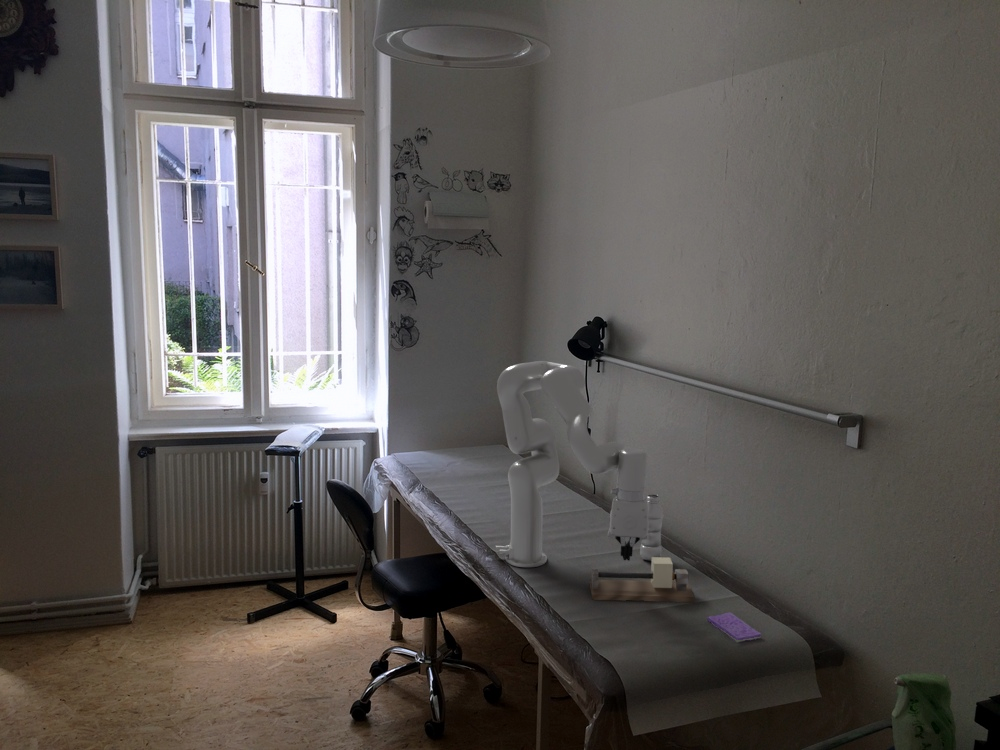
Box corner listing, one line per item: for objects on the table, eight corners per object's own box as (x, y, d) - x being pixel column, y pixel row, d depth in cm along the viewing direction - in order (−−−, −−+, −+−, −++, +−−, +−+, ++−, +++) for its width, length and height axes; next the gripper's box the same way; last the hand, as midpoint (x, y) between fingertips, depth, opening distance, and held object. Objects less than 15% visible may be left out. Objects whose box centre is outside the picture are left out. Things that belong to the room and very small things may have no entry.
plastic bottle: (635, 557, 244) (637, 494, 241) (654, 554, 247) (657, 492, 244) (646, 564, 238) (649, 500, 235) (665, 561, 241) (668, 498, 238)
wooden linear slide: (592, 599, 213) (593, 576, 212) (589, 584, 223) (590, 562, 222) (693, 602, 212) (694, 579, 211) (686, 586, 222) (687, 564, 221)
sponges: (736, 645, 190) (737, 637, 190) (706, 622, 202) (706, 615, 202) (761, 640, 193) (761, 633, 192) (729, 618, 204) (730, 611, 204)
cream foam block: (653, 587, 215) (654, 563, 214) (650, 580, 220) (651, 557, 219) (671, 587, 215) (672, 564, 214) (668, 581, 219) (669, 557, 218)
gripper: (603, 497, 211) (599, 562, 214) (660, 500, 210) (655, 565, 213) (601, 488, 218) (597, 551, 221) (656, 491, 217) (651, 554, 221)
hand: (626, 558), depth 217 cm, fingers closed
